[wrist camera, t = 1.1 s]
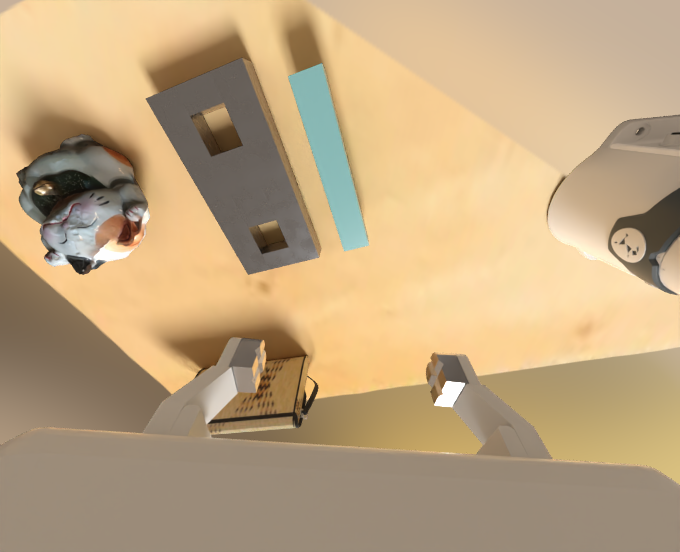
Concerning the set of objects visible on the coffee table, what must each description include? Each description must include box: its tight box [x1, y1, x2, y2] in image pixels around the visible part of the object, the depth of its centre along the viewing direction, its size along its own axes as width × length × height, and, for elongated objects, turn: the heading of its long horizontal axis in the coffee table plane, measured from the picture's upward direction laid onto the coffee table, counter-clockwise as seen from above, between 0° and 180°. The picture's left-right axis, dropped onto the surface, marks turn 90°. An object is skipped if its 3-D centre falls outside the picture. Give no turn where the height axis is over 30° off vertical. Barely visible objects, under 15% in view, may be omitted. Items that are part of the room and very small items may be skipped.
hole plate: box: [146, 58, 321, 275], centre depth 34 cm, size 12×24×3 cm, turn 16°
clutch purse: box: [194, 355, 318, 435], centre depth 53 cm, size 30×7×15 cm, turn 104°
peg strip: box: [288, 63, 369, 251], centre depth 32 cm, size 4×20×5 cm, turn 17°
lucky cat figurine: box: [16, 134, 150, 275], centre depth 33 cm, size 15×12×14 cm
